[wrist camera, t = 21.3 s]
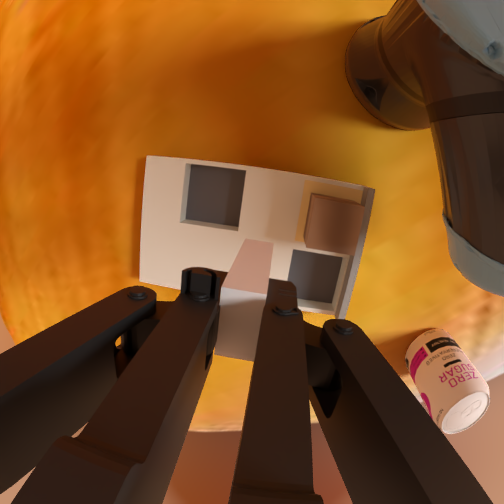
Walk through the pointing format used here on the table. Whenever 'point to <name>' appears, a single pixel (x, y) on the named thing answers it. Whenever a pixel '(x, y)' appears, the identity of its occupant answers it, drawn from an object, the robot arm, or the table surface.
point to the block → (333, 224)
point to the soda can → (447, 381)
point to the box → (243, 226)
